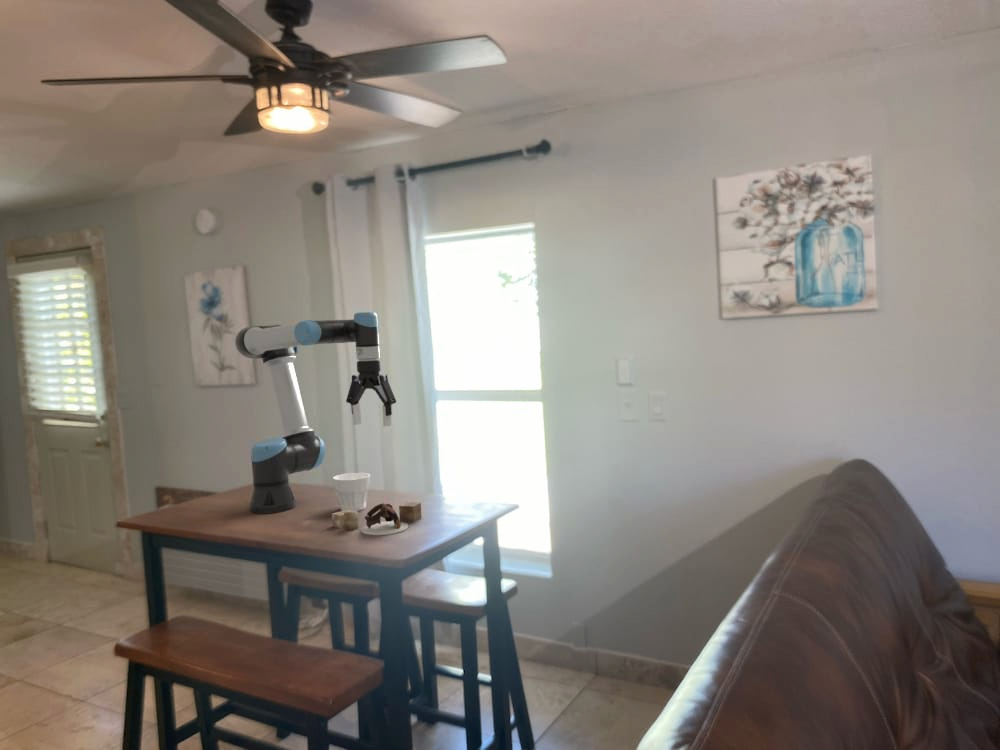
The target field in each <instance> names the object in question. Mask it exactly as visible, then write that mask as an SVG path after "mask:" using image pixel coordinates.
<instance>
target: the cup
mask: <svg viewBox="0 0 1000 750" xmlns="http://www.w3.org/2000/svg"><path fill="white" fill-rule="evenodd" d="M332 481H333V487H334V491H335V492H336V494H337V499H338V502H339V506H340V507H339V508H340V511H345V510H355V511H357V512H359V511H363V510H365V509H366V508H367V499H368V491H369V489H370V481H371V474H370V473H368V472H348V473H341V474H338V475H335V476H333V477H332Z"/></svg>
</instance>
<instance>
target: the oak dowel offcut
mask: <svg viewBox="0 0 1000 750" xmlns="http://www.w3.org/2000/svg"><path fill="white" fill-rule="evenodd" d="M358 515H359V514H358V511H355V510H351V511H346V512H344V523H345V527H344V530H345V531H355V530H358V529H359V516H358ZM357 528H358V529H357ZM354 529H355V530H354Z"/></svg>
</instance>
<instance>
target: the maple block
mask: <svg viewBox="0 0 1000 750" xmlns="http://www.w3.org/2000/svg"><path fill="white" fill-rule="evenodd" d="M346 511H351V510H345V511H342V510H340V511H338V512H334V513H332V514H331V519H332V521H331V522H332V527H335V528H337V529H342V528H345V523H344V512H346Z"/></svg>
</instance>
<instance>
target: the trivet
mask: <svg viewBox="0 0 1000 750" xmlns="http://www.w3.org/2000/svg"><path fill="white" fill-rule="evenodd" d="M380 523H381V524H379V523H376V524H374V525H372V526H371V527H370V528H368V526H367V524H365V525H364V526H363V527H361V529H360V532H361V533H362V534H363V533H364V535H368V536H379V537H380V536H391V535H395V534H396V535H397V534H400V533H402V532H405V531H407V530H408V529H409V524H408V522H400V524H401V526H400V528H399V529H398V528H397V525H395V524H394V521H393V520H392V521H391V522H390V521H388V522H386V521H380Z"/></svg>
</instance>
